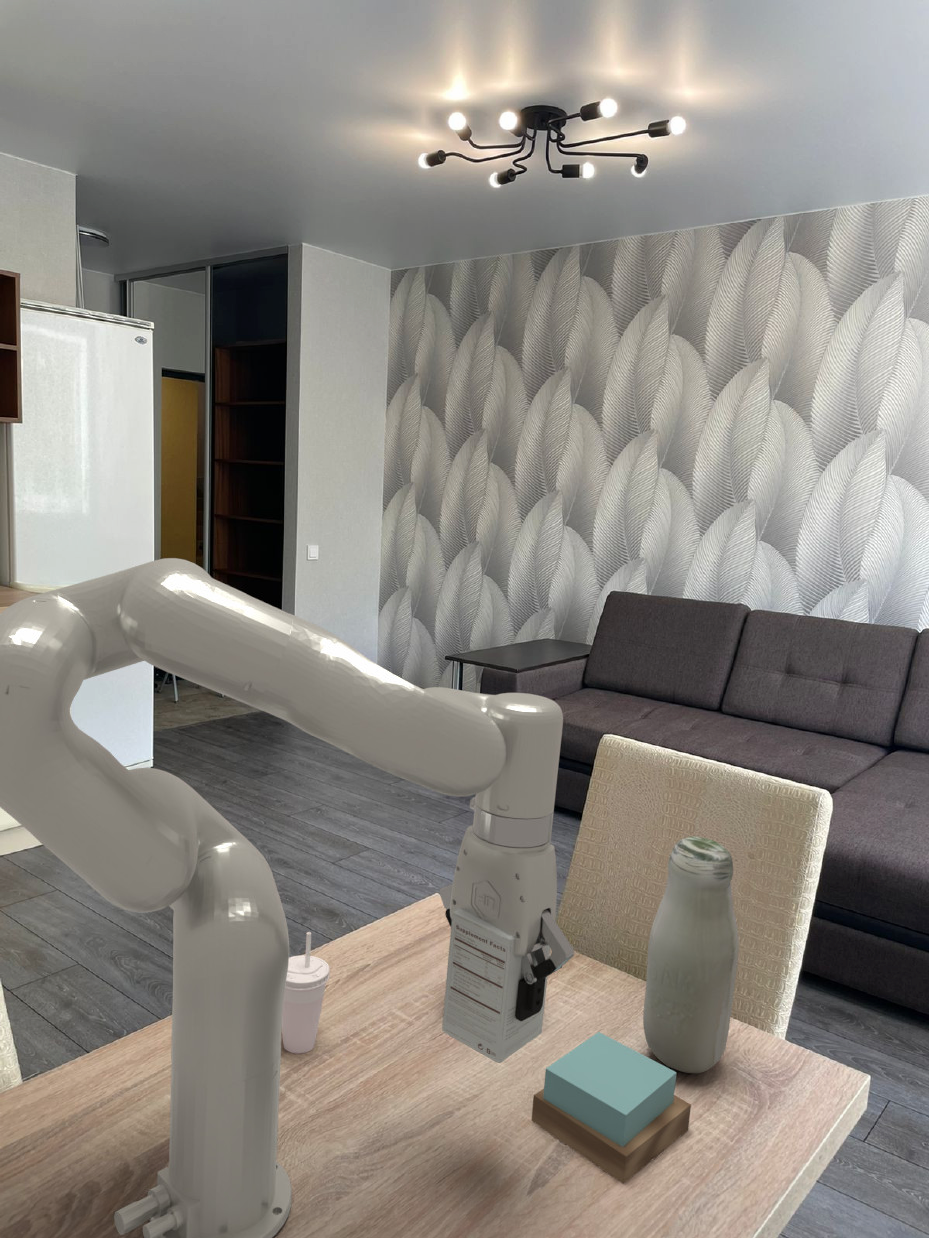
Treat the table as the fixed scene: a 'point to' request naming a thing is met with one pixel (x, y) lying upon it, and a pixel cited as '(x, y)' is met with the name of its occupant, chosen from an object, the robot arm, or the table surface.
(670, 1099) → the tower top
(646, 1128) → the tower base
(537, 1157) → the table surface
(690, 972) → the glass bottle
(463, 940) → the supplement box
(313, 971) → the smoothie
